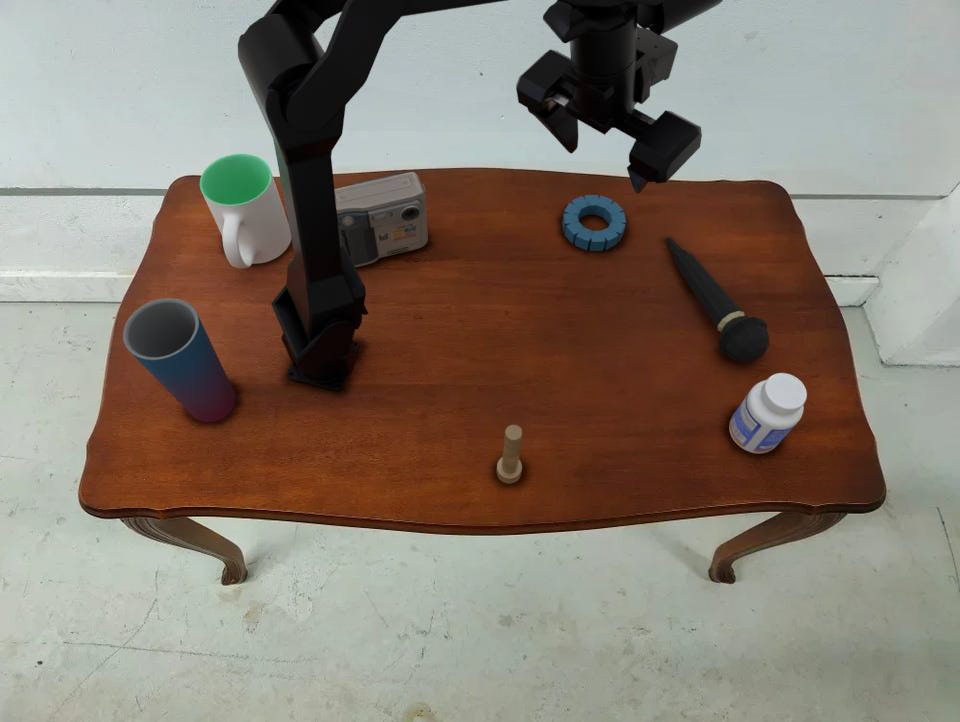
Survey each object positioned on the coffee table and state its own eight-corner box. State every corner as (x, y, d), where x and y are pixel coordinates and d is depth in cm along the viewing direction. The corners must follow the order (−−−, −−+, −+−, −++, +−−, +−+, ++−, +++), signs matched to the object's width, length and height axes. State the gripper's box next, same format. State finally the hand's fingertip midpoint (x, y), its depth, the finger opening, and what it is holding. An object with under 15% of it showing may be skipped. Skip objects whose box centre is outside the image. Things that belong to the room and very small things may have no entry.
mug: (284, 288, 86) (262, 232, 77) (217, 290, 86) (188, 233, 77) (294, 213, 92) (275, 153, 83) (232, 215, 92) (205, 154, 83)
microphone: (651, 263, 92) (735, 379, 81) (645, 235, 87) (733, 354, 76) (689, 243, 92) (779, 357, 80) (686, 214, 87) (780, 331, 75)
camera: (343, 272, 87) (329, 217, 78) (335, 237, 90) (320, 180, 81) (433, 253, 89) (429, 196, 80) (422, 219, 92) (417, 161, 83)
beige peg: (493, 480, 74) (496, 441, 65) (499, 457, 75) (503, 416, 66) (518, 486, 73) (524, 447, 65) (523, 463, 75) (530, 423, 66)
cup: (231, 434, 76) (181, 365, 63) (171, 424, 76) (110, 353, 64) (252, 380, 79) (209, 303, 66) (195, 370, 80) (141, 292, 67)
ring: (565, 251, 89) (567, 242, 88) (559, 205, 93) (561, 195, 91) (627, 250, 89) (629, 241, 88) (618, 204, 93) (621, 194, 92)
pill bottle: (783, 421, 77) (821, 378, 69) (771, 462, 75) (809, 423, 67) (734, 402, 79) (765, 357, 70) (721, 443, 76) (752, 401, 68)
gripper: (750, 38, 60) (725, 161, 74) (581, -38, 67) (587, 86, 81) (667, 122, 58) (658, 232, 72) (502, 33, 65) (523, 149, 79)
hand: (605, 169), depth 76 cm, fingers open, 9 cm apart
